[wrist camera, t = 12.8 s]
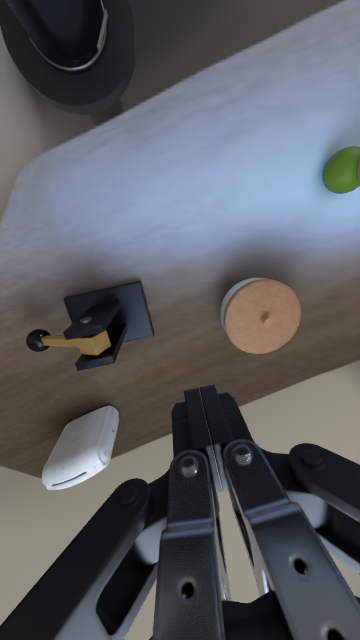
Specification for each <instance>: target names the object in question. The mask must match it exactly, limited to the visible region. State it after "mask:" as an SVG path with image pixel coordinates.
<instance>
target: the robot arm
mask: <svg viewBox="0 0 360 640" xmlns="http://www.w3.org/2000/svg"><path fill="white" fill-rule="evenodd" d="M5 1H6V2H7V4H8V5H9V7H10V8H11V10H12V11H13V13H14V14H15V16H16V17H17V19H18V20H19V22H20V23H21V25H22V27H23V28H24V30H25V31H26V33H27V34H28V36H29V38H30V40H31V41H32V43H33V45H34V46H35V48H36V49H37V51H38V52H39V54H40V55H41V56H42V58H43V59H44V60H45V61H46V62H47V63H48V64H49V65H51V66H52V67H53V68H55V69H57V70H59V71H61V72H63V73H67V74H81V73H85V72H87V71H89V70H90V69H92V68H93V67H94V66H95V65H96V64H97V63H98V62H99V60H100V59H101V57H102V55H103V53H104V51H105V47H106V43H107V36H108V27H107V17H108V15H107V11H106V9H105V11H104V7H103V4H102V1H101V0H5ZM200 392H201V397H202V401H201V397H200V393H199V388H195V389H190V390H186V391H184V394H185V402H181V403H176V404H175V406H174V408H173V410H172V428H173V429H172V432H173V452H174V458H173V460H172V462H171V464H170V469H169V470H168V471H167V472H166V473H165V474H164V475H163V476H162V477H160V478H159V479H157V480H155V481H153V482H151V483H149V484H147V482H145V481H144V480H142V479H138V478H136V479H130V480H127V481H125V482H124V483H122V484H121V485H119V486H118V488H116V490H115V491H114V492H113V493H112V494H111V495H110V497H109V498H108V499H107V500H106V501H105V503H104V504H103V505H102V506H101V507H100V508H99V510H98V511H97V512H96V513H95V514H94V515H93V517H92V518H91V519H90V520H89V521H88V523H87V524H86V525H85V526H84V527H83V528H82V530H81V531H80V532H79V533H78V534H77V536H76V537H75V538H74V539H73V540H72V542H71V543H70V544H69V545H68V546H67V547H66V549H65V550H64V551H63V552H62V553H61V555H60V556H59V557H58V558H57V559H56V561H55V562H54V563H53V564H52V565H51V566H50V568H49V569H48V570H47V571H46V572H45V573H44V575H43V576H42V577H41V578H40V579H39V581H38V582H37V583H36V584H35V585H34V586H33V588H32V589H31V590H30V591H29V592H28V594H27V595H26V596H25V597H24V598H23V600H22V601H21V602H20V603H19V604H18V605H17V607H16V608H15V609H14V610H13V611H12V613H11V614H10V615H9V616H8V617H7V619H6V620H5V621H4V622H3V623H2V625H1V626H0V640H124V638H125V636H126V634H127V632H128V631H129V629H130V627H131V625H132V623H133V621H134V619H135V617H136V616H137V614H138V612H139V610H140V608H141V606H142V605H143V603H144V601H145V599H146V597H147V595H148V594H149V592H150V589H151V588H152V586H153V584H154V582H155V580H156V579H157V585H156V598H155V599H156V600H155V611H154V625H153V636H152V637H151V638H150V639H149V640H360V598H359V597H356V596H354V594H353V592H352V591H351V589H350V587H349V586H348V584H347V582H346V581H345V579H344V577H343V576H342V574H341V572H340V571H339V569H338V568H337V566H336V564H335V562H334V561H333V559H332V557H331V556H330V554H329V552H330V553H331V554H332V555H334V556H335V557H337V558H338V559H339V560H341V561H342V562H343V563H345V564H346V565H347V566H349V567H350V568H351V569H353V570H354V571H355V572H357V573H358V574H359V575H360V465H359V464H357V463H355V462H353V461H350V460H348V459H346V458H344V457H342V456H340V455H338V454H335V453H333V452H331V451H329V450H327V449H325V448H322V447H320V446H318V445H314V444H309V443H303V444H299V445H296V446H294V447H293V448H292V449H291V451H290V453H289V454H279V453H272V452H268V451H266V450H264V449H262V448H260V447H259V446H258V445H257V444H256V443H255V442H254V441H253V439H252V437H251V434H250V432H249V430H248V428H247V425H246V423H245V421H244V419H243V417H242V414H241V413H240V410H239V408H238V405H237V403H236V401H235V399H234V398H233V397H232V396H231V395H230V394H228V393H223V394H217V391H216V389H215V386H214V385H209V386H204V387H200ZM202 402H203V405H202ZM203 407H204V410H203ZM204 411H205V414H204ZM205 416H206V418H205ZM206 421H207V422H206ZM207 425H208V426H207ZM208 429H209V431H208ZM209 434H210V435H209ZM210 438H211V439H210ZM211 442H212V443H211ZM212 446H213V448H212ZM213 450H214V453H213ZM214 454H215V458H214ZM215 459H216V463H217V467H218V471H219V475H220V480H221V484H222V488H223V491H226V490H229V493H230V498H231V501H232V506H233V512H234V515H235V518H236V521H237V524H238V527H239V530H240V533H241V536H242V539H243V542H244V545H245V548H246V551H247V554H248V557H249V560H250V563H251V566H252V569H253V572H254V575H255V579H256V583H257V586H258V590H259V594H260V597H259V598H258V599H256V600H255V601H253V602H251V603H240V602H234V601H232V600H231V594H230V589H229V582H228V575H227V567H226V560H225V552H224V545H223V537H222V530H221V522H220V515H219V502H218V497H217V492H221V487H220V482H219V477H218V472H217V468H216V463H215Z"/></svg>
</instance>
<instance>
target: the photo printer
mask: <svg viewBox="0 0 360 640" xmlns="http://www.w3.org/2000/svg"><path fill="white" fill-rule="evenodd" d="M118 417H119V413H118V411H117V409H116V408H114V407H113V406H110V405H109V406H105V407H102V408H100V409H97V410H95V411H93V412H90V413H88V414H86V415H84V416H81V417H79V418H77V419H75V420H73V421H71V422H70V423H68V424H67V425H66V426H65V428H64V430H63V432H62V433H61V435H60V437H59V439H58V441H57V443H56V445H55V447H54V449H53V451H52V453H51V455H50V457H49V458H48V460H47V462H46V464H45V466H44V468H43V472H42V482H43V485H45V486H46V488H47V489H48V490H59V489H63V488H68V487H71V486H74V485H76V484H78V483H81V482H83V481H85V480H87V479H88V478H90V477H92V476H94V475H95V474H97V473H98V472H100V471H101V470H102V469H104V468H105V467H106V466H107V465H108V463H109V461H110V458H111V453H112V449H113V445H114V440H115V436H116V432H117V428H118V424H119V418H118Z"/></svg>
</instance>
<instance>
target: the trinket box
mask: <svg viewBox="0 0 360 640" xmlns="http://www.w3.org/2000/svg"><path fill="white" fill-rule="evenodd" d="M300 318H301V306H300V302H299V299H298V297H297V295H296V294H295V292H294V291H293V290H292V289H291V288H290V287H289V286H287V285H286V284H284V283H282V282H279V281H276V280H272V279H267V278H250V279H246V280H243V281H240V282H239V283H237V284H235V285H234V286H233V287H232V288H231V289H230V290H229V291H228V292H227V294H226V295H225V297H224V299H223V302H222V305H221V320H222V324H223V327H224V329H225V331H226V334H227V335H228V337H229V339H230V340H231V341H232V343H233V344H234V345H235V346H236V347H238V348H239V349H241V350H243V351H245V352H248V353H253V354H262V353H268V352H271V351H274V350H276V349H278V348H280V347H282V346H283V345H284V344H286V343H287V342H288V341H289V340H290V339H291V337H292V336H293V335H294V333H295V332H296V330H297V328H298V326H299V322H300Z"/></svg>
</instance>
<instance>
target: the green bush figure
mask: <svg viewBox="0 0 360 640" xmlns="http://www.w3.org/2000/svg"><path fill="white" fill-rule="evenodd" d="M323 182H324V185H325V186H326V188H327V189H328V190H329V191H331V192H333V193H339V194H342V193H347V192H350V191H352V190H354V189H356V188H357V187H359V186H360V147H355V146H353V147H347V148H344V149H342V150H340V151H338V152H337V153H335V154H334V155H333V156H332V157H331V158H330V159H329V161H328V162H327V164H326V166H325V168H324V171H323Z"/></svg>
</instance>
